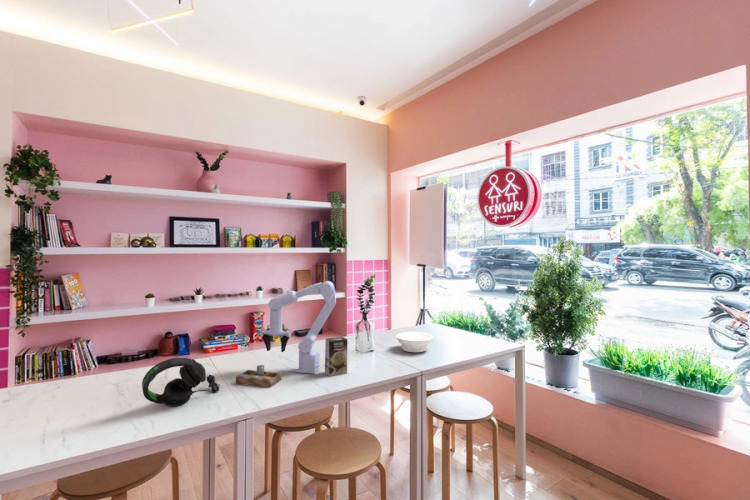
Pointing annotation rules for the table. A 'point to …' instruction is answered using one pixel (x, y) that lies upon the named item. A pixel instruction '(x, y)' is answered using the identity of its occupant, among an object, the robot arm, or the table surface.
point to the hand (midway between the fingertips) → (275, 350)
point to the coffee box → (335, 356)
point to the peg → (260, 370)
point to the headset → (178, 382)
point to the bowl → (414, 341)
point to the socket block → (258, 378)
